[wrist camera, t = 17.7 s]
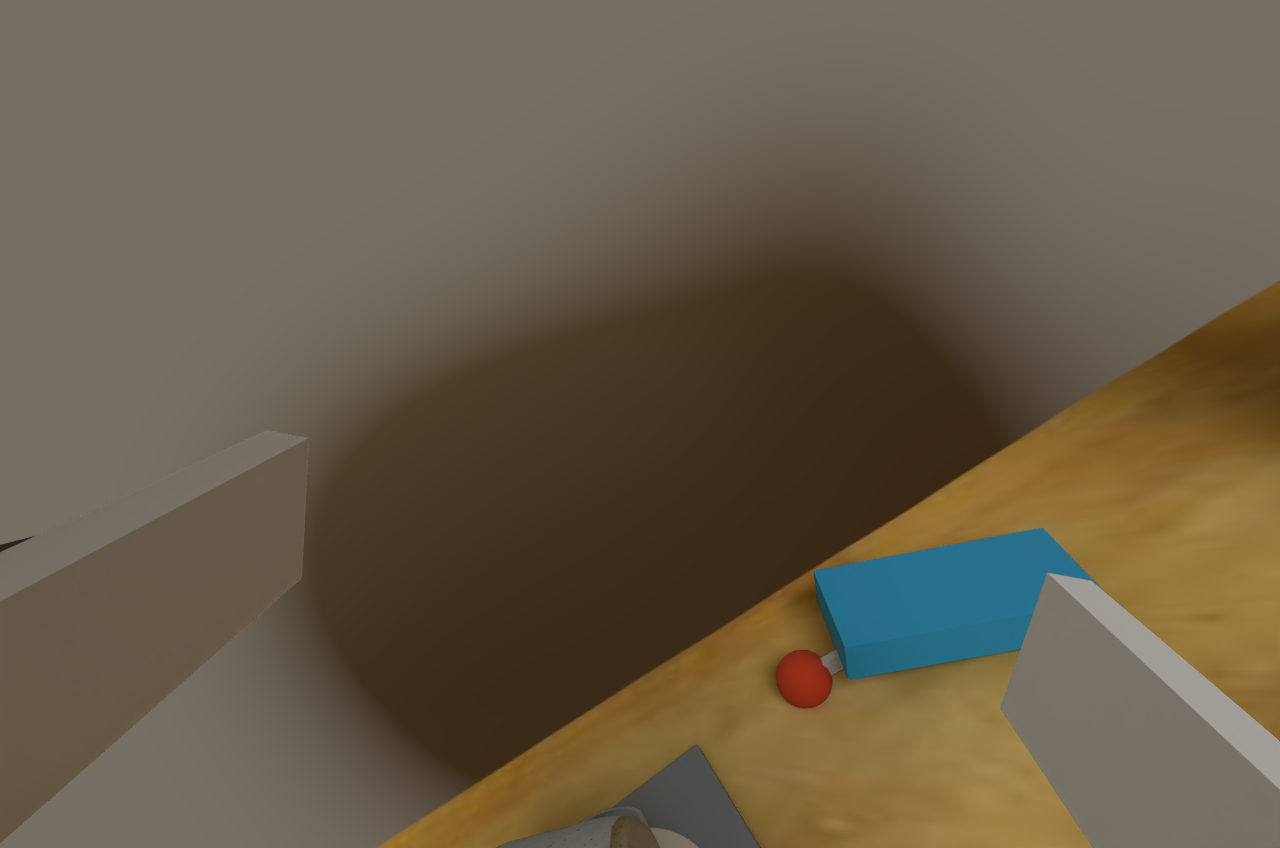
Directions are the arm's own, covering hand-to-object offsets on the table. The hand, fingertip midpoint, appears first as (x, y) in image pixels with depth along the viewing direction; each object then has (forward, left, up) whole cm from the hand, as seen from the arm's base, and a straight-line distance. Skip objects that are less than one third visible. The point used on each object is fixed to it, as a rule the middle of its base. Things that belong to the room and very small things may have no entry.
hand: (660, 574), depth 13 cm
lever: (-13, -20, -29) cm, 38 cm away
